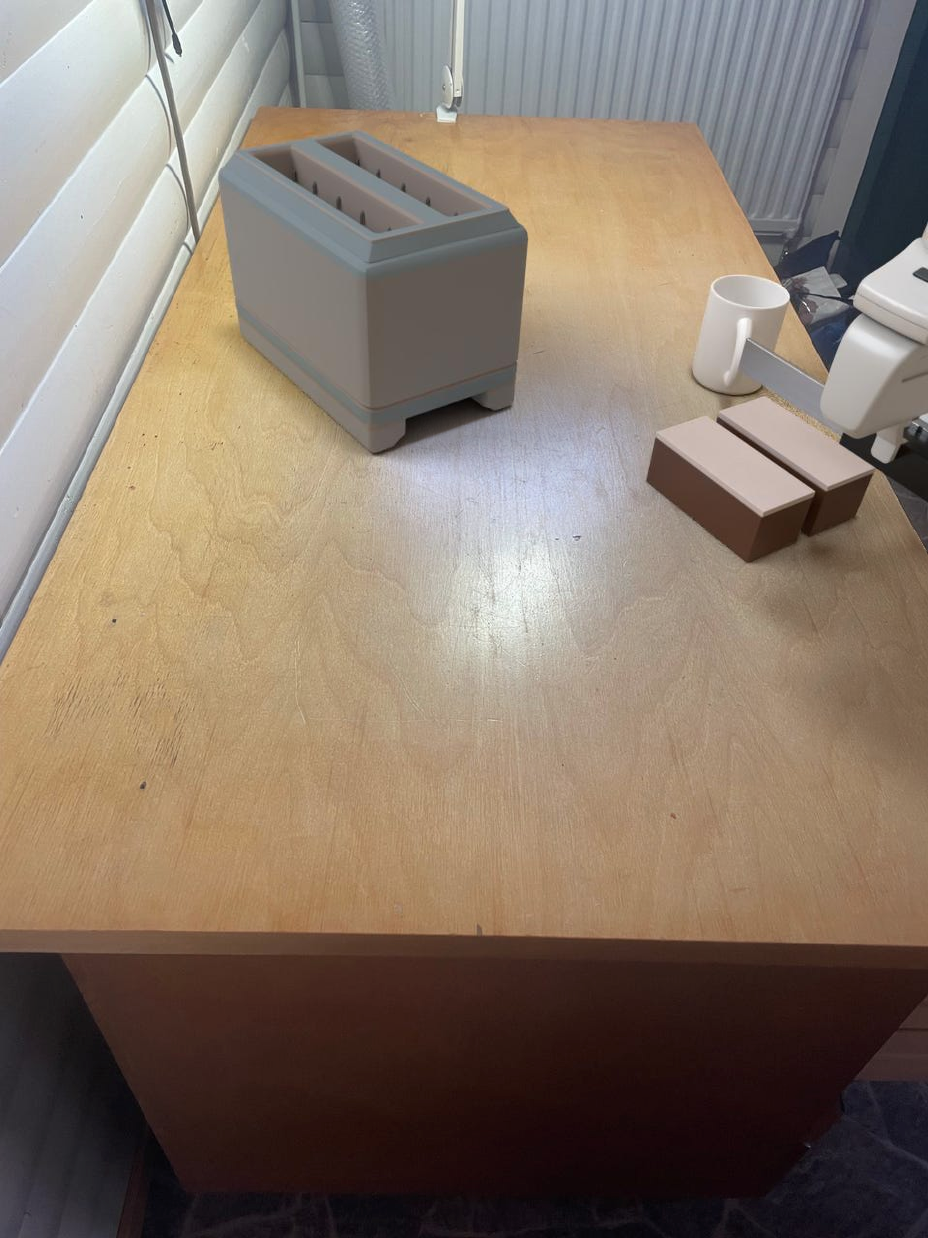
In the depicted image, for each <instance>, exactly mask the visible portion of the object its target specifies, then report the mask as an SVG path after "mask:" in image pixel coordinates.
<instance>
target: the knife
mask: <svg viewBox="0 0 928 1238" xmlns="http://www.w3.org/2000/svg"><path fill="white" fill-rule="evenodd" d="M738 369H739V370H740V371H742V372H743V373H745V374H746V375H748V376H749V377H751V378H752V379H754V380H755V381H757V382H759V383H760V384H762V386H763V387H764V388H765V389H766V388H767V389H768V390H769V391H770V392H772V393H774V394H775V395H776V396H778V397H780V398H781V399H782V400H785V401H786V402H787V403H789V404H791V405H792V406H793V407H795V408H797V409H798V410H799V411H801V412H803V413H804V414H806V415H807V416H809V417H810V418H812V419H814V420H815V421H817V422H819V423H820V424H821V425H823V426H824V427H826V428H827V429H829V430H830V431H832V432H833V433H835V434H837V435H838V436H840V439H839V441H838V443H839V444H840V445H841V446H843V447H845V448H846V449H848V450H849V451H851V452H852V453H854V454H855V455H857V456H858V457H860V458H861V459H863V460H864V461H866V462H867V463H869V464H870V465H872V466H873V467H875V468H876V469H875V470H877V471H879V472H881V473H882V474H884V475H885V476H886V477H888V478H890V479H891V480H892V481H894V482H896V483H897V484H899V485H900V486H902V487H903V488H905V489H907V490H908V491H909V492H911V493H913V494H914V495H916V496H917V497H918V498H920V499H922V500H923V501H925V502H927V503H928V438H927V437H925V436H924V435H922V434H920V433H919V432H917V431H915V430H914V429H912V428H911V427H910V425H909V426H908V427H904V431H903V438H905V439H906V440H908V441H909V442H908V444H907V446H906V448H905V450H904V451H903V454H902V456H901V457H900V458H898V459H896V460H893V461H891V462H889V463H883V462H881V461H880V460H878V459H877V458H875V457H874V456H873V455H872V453H871V449H872V446H873V444H874V442H875V439H876V437H877V433H873V434H871V435H868V436H866V437H863V438H860V439H856V438H853V437H851V436H849V435H847V434H846V433H844V432H842V431H841V430H839V429H838V428H836V427H835V426H833V425H832V424H830V423H829V422H827V421H826V420H825V419H824V417H823V415H822V412H821V409H820V402H821V397H822V393H823V390H824V387H825V384H826V382H824V381H822V380H820V379H818V378H817V377H815V376H814V375H812V374H810V373H809V372H808V371H805V370H804V369H802V368H801V367H799V366H798V365H796V364H794V363H792V362H791V361H789V360H788V359H786V358H784V357H783V356H781V355H780V354H778V353H776V352H775V351H774V352H773V351H772V350H770V349H768V348H767V347H765V346H763V345H762V344H760V343H759V342H757V341H755V340H754V339H752V338H746V341H745V345H744V348H743V352H742V355H741V359H740V362H739V366H738Z"/></svg>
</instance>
